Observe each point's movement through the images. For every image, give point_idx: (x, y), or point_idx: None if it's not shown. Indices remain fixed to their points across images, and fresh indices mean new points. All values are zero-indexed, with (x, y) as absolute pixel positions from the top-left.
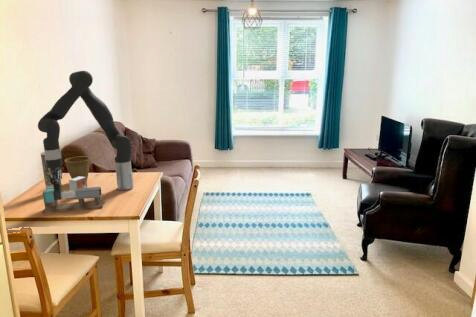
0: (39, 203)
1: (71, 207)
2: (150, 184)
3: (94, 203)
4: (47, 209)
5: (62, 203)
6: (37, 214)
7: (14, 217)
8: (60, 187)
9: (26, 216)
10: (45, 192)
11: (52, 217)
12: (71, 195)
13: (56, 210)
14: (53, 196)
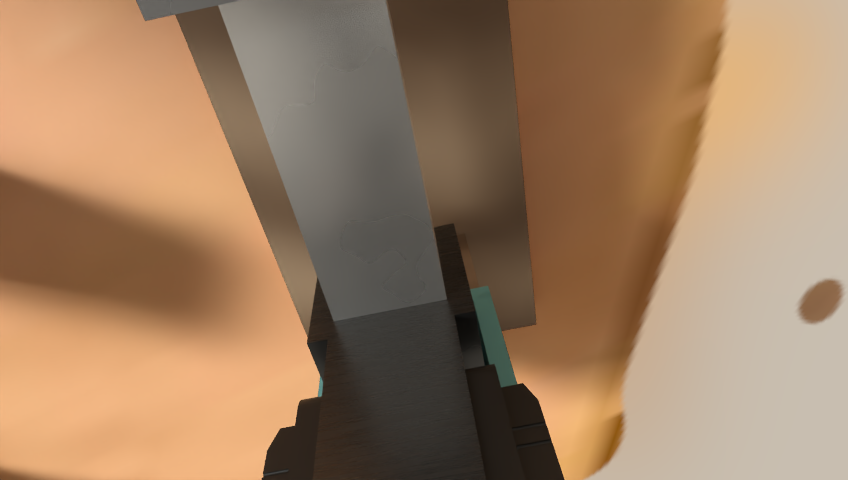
0: (254, 456)
1: (450, 17)
2: None
3: None
4: (496, 300)
5: (286, 235)
6: (557, 335)
7: (592, 454)
8: (420, 399)
9: (590, 392)
10: None
11: (694, 143)
12: (401, 70)
13: (521, 192)
14: (507, 352)
